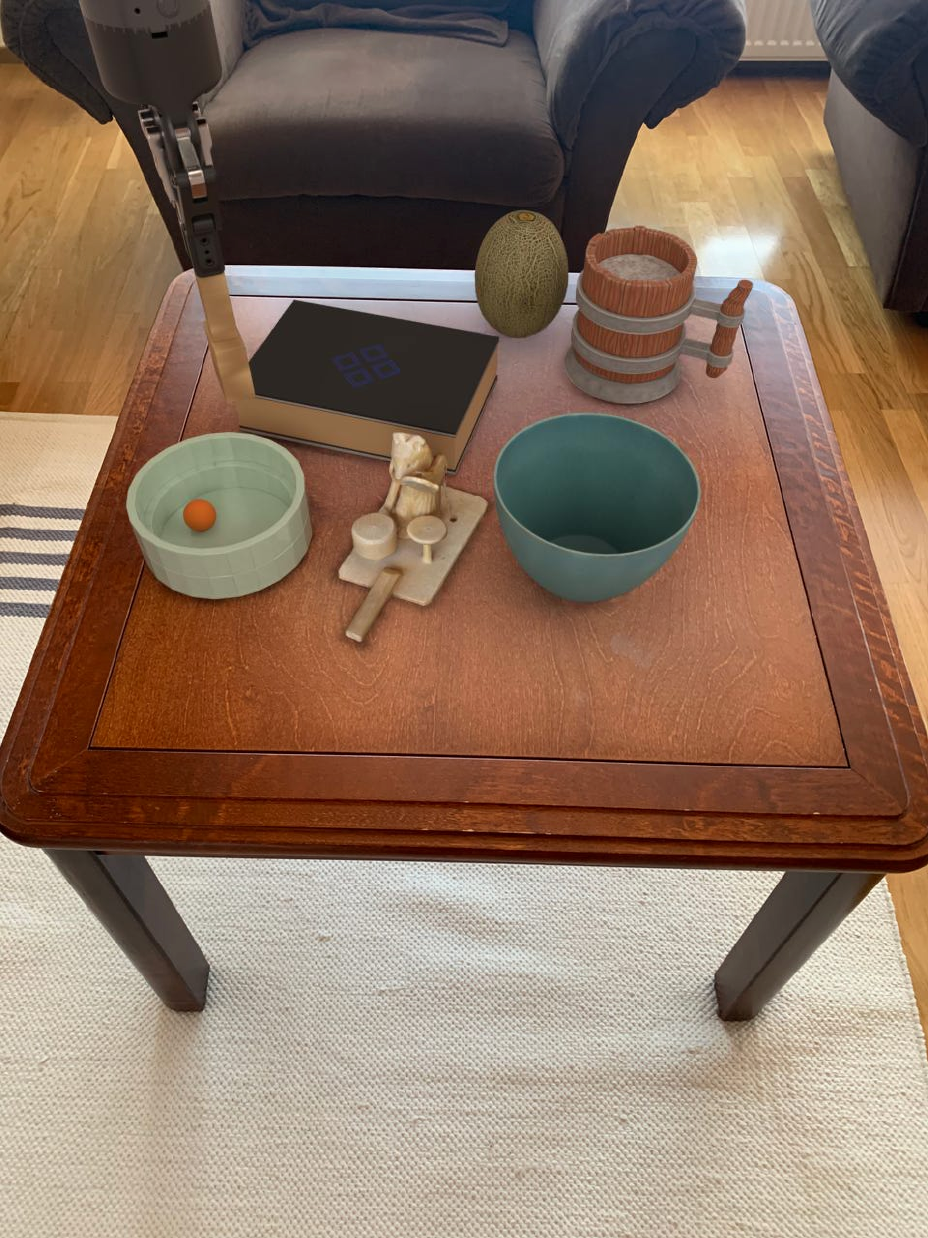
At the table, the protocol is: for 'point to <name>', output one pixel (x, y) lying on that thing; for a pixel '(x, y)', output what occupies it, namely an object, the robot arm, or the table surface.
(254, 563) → the bowl
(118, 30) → the robot arm
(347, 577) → the wooden toy
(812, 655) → the table surface
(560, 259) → the fruit
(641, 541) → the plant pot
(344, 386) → the book
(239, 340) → the stick
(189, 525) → the ball
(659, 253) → the mug
